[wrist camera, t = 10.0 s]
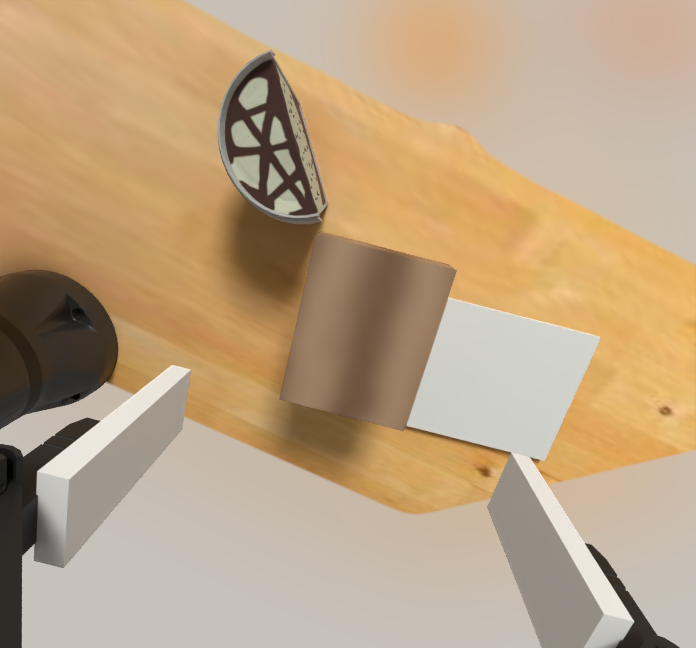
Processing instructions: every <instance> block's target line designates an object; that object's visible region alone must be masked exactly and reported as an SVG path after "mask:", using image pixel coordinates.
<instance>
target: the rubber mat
mask: <svg viewBox="0 0 696 648" xmlns="http://www.w3.org/2000/svg"><path fill="white" fill-rule="evenodd" d="M600 339H601V338H600V337H598V336H596V335H593V334H589V333H585V332H581V331H577V330H573V329H569V328H565V327H562V326H558V325H554V324H550V323H546V322H542V321H538V320H534V319H531V318H527V317H523V316H519V315H515V314H511V313H507V312H503V311H500V310H496V309H492V308H488V307H484V306H480V305H476V304H472V303H468V302H465V301H461V300H457V299H453V298H449V297H448V298H447V301H446V304H445V308H444V311H443V314H442V317H441V320H440V323H439V326H438V329H437V332H436V335H435V338H434V341H433V344H432V347H431V350H430V353H429V356H428V359H427V362H426V365H425V368H424V371H423V374H422V377H421V380H420V383H419V386H418V389H417V392H416V395H415V398H414V401H413V404H412V407H411V410H410V413H409V416H408V419H407V422H406V426H409V427H413V428H417V429H421V430H425V431H429V432H433V433H437V434H441V435H445V436H449V437H453V438H456V439H460V440H464V441H468V442H472V443H476V444H480V445H484V446H488V447H492V448H496V449H500V450H504V451H508V452H512V453H516V454H520V455H524V456H528V457H531V458H535V459H539V460H543V461H545V459H546V457H547V454H548V452H549V450H550V448H551V446H552V444H553V441H554V439H555V437H556V435H557V433H558V430H559V428H560V426H561V424H562V422H563V420H564V417H565V415H566V413H567V411H568V409H569V406H570V404H571V402H572V400H573V398H574V395H575V393H576V391H577V389H578V387H579V385H580V382H581V380H582V378H583V376H584V374H585V371H586V369H587V367H588V365H589V363H590V361H591V358H592V356H593V354H594V352H595V350H596V347H597V345H598V343H599V341H600Z"/></svg>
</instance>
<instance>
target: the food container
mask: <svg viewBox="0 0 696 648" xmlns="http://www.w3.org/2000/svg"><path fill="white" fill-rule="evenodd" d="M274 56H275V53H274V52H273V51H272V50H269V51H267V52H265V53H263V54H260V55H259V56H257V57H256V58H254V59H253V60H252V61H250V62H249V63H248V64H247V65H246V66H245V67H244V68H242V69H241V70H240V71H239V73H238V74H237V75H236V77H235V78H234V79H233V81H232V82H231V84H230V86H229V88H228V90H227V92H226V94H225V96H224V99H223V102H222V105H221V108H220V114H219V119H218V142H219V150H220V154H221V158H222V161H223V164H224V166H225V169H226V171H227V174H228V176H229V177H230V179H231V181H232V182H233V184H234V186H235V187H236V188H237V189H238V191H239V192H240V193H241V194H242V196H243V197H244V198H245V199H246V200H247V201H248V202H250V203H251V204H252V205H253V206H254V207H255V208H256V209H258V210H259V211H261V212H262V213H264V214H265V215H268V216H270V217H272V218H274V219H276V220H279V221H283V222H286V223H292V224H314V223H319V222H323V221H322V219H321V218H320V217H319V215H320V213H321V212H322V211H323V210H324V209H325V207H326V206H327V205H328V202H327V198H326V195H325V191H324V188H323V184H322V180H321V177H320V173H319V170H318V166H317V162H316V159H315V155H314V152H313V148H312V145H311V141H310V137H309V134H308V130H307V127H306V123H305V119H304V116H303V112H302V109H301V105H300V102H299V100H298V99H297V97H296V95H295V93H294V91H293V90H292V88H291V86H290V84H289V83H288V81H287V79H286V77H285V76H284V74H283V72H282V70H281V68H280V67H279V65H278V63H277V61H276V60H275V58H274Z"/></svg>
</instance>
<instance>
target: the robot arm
mask: <svg viewBox="0 0 696 648" xmlns="http://www.w3.org/2000/svg"><path fill="white" fill-rule="evenodd" d="M116 359H117V338H116V334H115V330H114V327H113V324H112V322H111V320H110V318H109V316H108V314H107V312H106V310H105V309H104V307H103V306H102V305H101V303H100V302H99V301H98V300H97V299H96V297H95V296H94V295H93V294H92V293H90V292H89V291H88V290H87V289H86V288H84V287H83V286H82V285H80V284H79V283H77V282H76V281H74V280H72V279H70V278H68V277H66V276H64V275H61V274H58V273H55V272H50V271H44V270H30V271H23V272H18V273H12V274H8V275H4V276H1V277H0V429H1V428H3V427H5V426H6V425H8V424H9V423H11V422H13V421H14V420H16V419H18V418H19V417H21V416H23V415H25V414H29V413H33V412H38V411H42V410H47V409H51V408H56V407H60V406H65V405H69V404H72V403H74V402H77V401H79V400H81V399H83V398H85V397H86V396H88V395H89V394H91V393H93V392H94V391H96V390H97V389H98V388H100V387H101V386H102V385H103V384H104V383H105V382H106V381H107V380H108V378H109V377H110V375H111V373H112V371H113V369H114V367H115V363H116ZM190 374H191V370H190V369H186V368H183V367H179V366H175V365H171V366H170V367H169V368H167V369H166V370H165V371H164V372H162V373H161V374H160V375H159V376H157V377H156V378H155V379H154V380H152V381H151V382H150V383H148V384H147V385H146V386H145V387H143V388H142V389H141V390H140V391H138V392H137V393H136V394H135V395H133V396H132V397H131V398H129V399H128V400H127V401H126V402H124V403H123V404H122V405H121V406H119V407H118V408H117V409H116V410H114V411H113V412H112V413H111V414H109V415H108V416H107V417H105V418H104V419H103V420H102V421H98V420H94V419H90V418H85V419H82V420H79V421H77V422H74V423H72V424H69V425H68V426H66V427H65V428H64V429H62V430H61V431H59V432H58V433H56V434H55V436H52V437H51V438H49V439H48V440H47V441H45V442H44V444H43V445H42V444H41V445H40V446H38V447H37V448H35V449H34V450H33V451H31V452H30V453H28V454H27V455H26V456H24V457H23V455H22V453H21V451H20V450H19V449H17V448H15V447H14V446H10V445H4V444H0V648H22V555H23V554H24V553H26V551H28V549H30V547H32V546H33V545H34V544H35V547H34V561H37V562H41V563H45V564H49V565H53V566H57V567H61V568H64V567H65V566H66V565H67V563H68V562H69V561H70V560H71V559H72V558H73V556H74V555H75V554H76V553H77V552H78V551H79V549H80V548H81V547H82V546H83V545H84V544H85V542H86V541H87V540H88V539H89V538H90V536H91V535H92V534H93V533H94V532H95V531H96V530H97V528H98V527H99V526H100V525H101V524H102V523H103V521H104V520H105V519H106V518H107V517H108V515H109V514H110V513H111V512H112V511H113V509H114V508H115V507H116V506H117V505H118V504H119V503H120V501H121V500H122V499H123V498H124V497H125V495H126V494H127V493H128V492H129V491H130V490H131V488H132V487H133V486H134V485H135V484H136V482H137V481H138V480H139V479H140V478H141V477H142V476H143V474H144V473H145V472H146V471H147V470H148V469H149V467H150V466H151V465H152V464H153V463H154V462H155V460H156V459H157V458H158V457H159V456H160V455H161V453H162V452H163V451H164V450H165V449H166V447H167V446H168V445H169V444H170V443H171V442H172V440H173V439H174V438H175V437H176V436H177V435H178V433H179V432H180V431H181V430H182V426H183V419H184V413H185V406H186V400H187V393H188V387H189V380H190ZM487 508H488V510H489V513H490V516H491V518H492V521H493V523H494V526H495V528H496V531H497V534H498V536H499V539H500V541H501V544H502V546H503V549H504V552H505V554H506V557H507V559H508V562H509V564H510V567H511V570H512V572H513V575H514V577H515V580H516V582H517V585H518V588H519V590H520V593H521V595H522V598H523V600H524V603H525V605H526V608H527V611H528V613H529V616H530V618H531V621H532V624H533V626H534V629H535V631H536V634H537V637H538V639H539V641H540V644H541V647H542V648H679V647H678V646H677V645H675V644H674V643H672V642H670V641H669V640H667V639H665V638H663V637H660V636H657V634H656V633H655V631H654V630H653V628H652V627H651V625H650V624H649V622H648V621H647V619H646V618H645V616H644V615H643V613H642V612H641V610H640V609H639V607H638V606H637V604H636V603H635V601H634V600H633V598H632V597H631V595H630V594H629V592H628V591H626V590H625V586H624V585H623V583H622V582H621V580H620V579H619V578H617V574H616V573H615V571H614V570H613V568H612V567H611V566H610V564H609V563H608V561H607V560H606V559H605V558H604V557H603V556H602V555H601V554H600V553H599V552H598V551H597V550H596V549H595V548H594V547H593V546H592V545H590V544H586V543H584V542H583V540H582V539H581V537H580V536H579V534H578V533H577V531H576V529H575V528H574V526H573V524H572V523H571V521H570V520H569V518H568V517H567V515H566V513H565V512H564V510H563V509H562V507H561V506H560V504H559V502H558V501H557V499H556V498H555V496H554V495H553V493H552V491H551V490H550V488H549V487H548V485H547V484H546V482H545V480H544V479H543V477H542V476H541V474H540V473H539V471H538V469H537V468H536V466H535V465H534V463H533V462H532V460H531V458H530V457H528V456H524V455H520V454H516V453H512V452H511V454H510V456H509V458H508V461H507V463H506V465H505V468H504V470H503V472H502V475H501V477H500V479H499V481H498V484H497V486H496V488H495V491H494V493H493V495H492V498H491V500H490V502H489V504H488V507H487Z"/></svg>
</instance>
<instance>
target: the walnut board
mask: <svg viewBox="0 0 696 648" xmlns="http://www.w3.org/2000/svg"><path fill="white" fill-rule="evenodd" d="M456 271H457V270H455V269H454V268H453V267H451V266H450V265H448V264H444V263H441V262H437V261H433V260H429V259H425V258H421V257H417V256H414V255H410V254H406V253H402V252H398V251H394V250H391V249H387V248H383V247H379V246H375V245H371V244H367V243H364V242H360V241H356V240H352V239H348V238H344V237H340V236H337V235H333V234H329V233H325V232H319V233H317V234H316V237H315V241H314V246H313V250H312V255H311V259H310V264H309V268H308V273H307V277H306V282H305V286H304V291H303V295H302V300H301V305H300V309H299V314H298V318H297V323H296V327H295V332H294V336H293V341H292V345H291V350H290V354H289V359H288V363H287V368H286V372H285V377H284V381H283V386H282V390H281V395H280V399H279V400H283V401H287V402H291V403H295V404H299V405H303V406H307V407H311V408H315V409H318V410H322V411H326V412H330V413H334V414H338V415H342V416H346V417H350V418H354V419H358V420H362V421H366V422H370V423H373V424H377V425H381V426H385V427H389V428H393V429H397V430H401V431H404V429H405V425H406V422H407V419H408V416H409V413H410V410H411V407H412V404H413V401H414V398H415V395H416V392H417V389H418V386H419V383H420V380H421V377H422V374H423V371H424V368H425V365H426V362H427V359H428V356H429V353H430V350H431V347H432V344H433V341H434V338H435V335H436V332H437V329H438V326H439V323H440V320H441V317H442V314H443V311H444V308H445V304H446V301H447V298H448V295H449V292H450V289H451V286H452V283H453V280H454V277H455V274H456Z"/></svg>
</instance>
